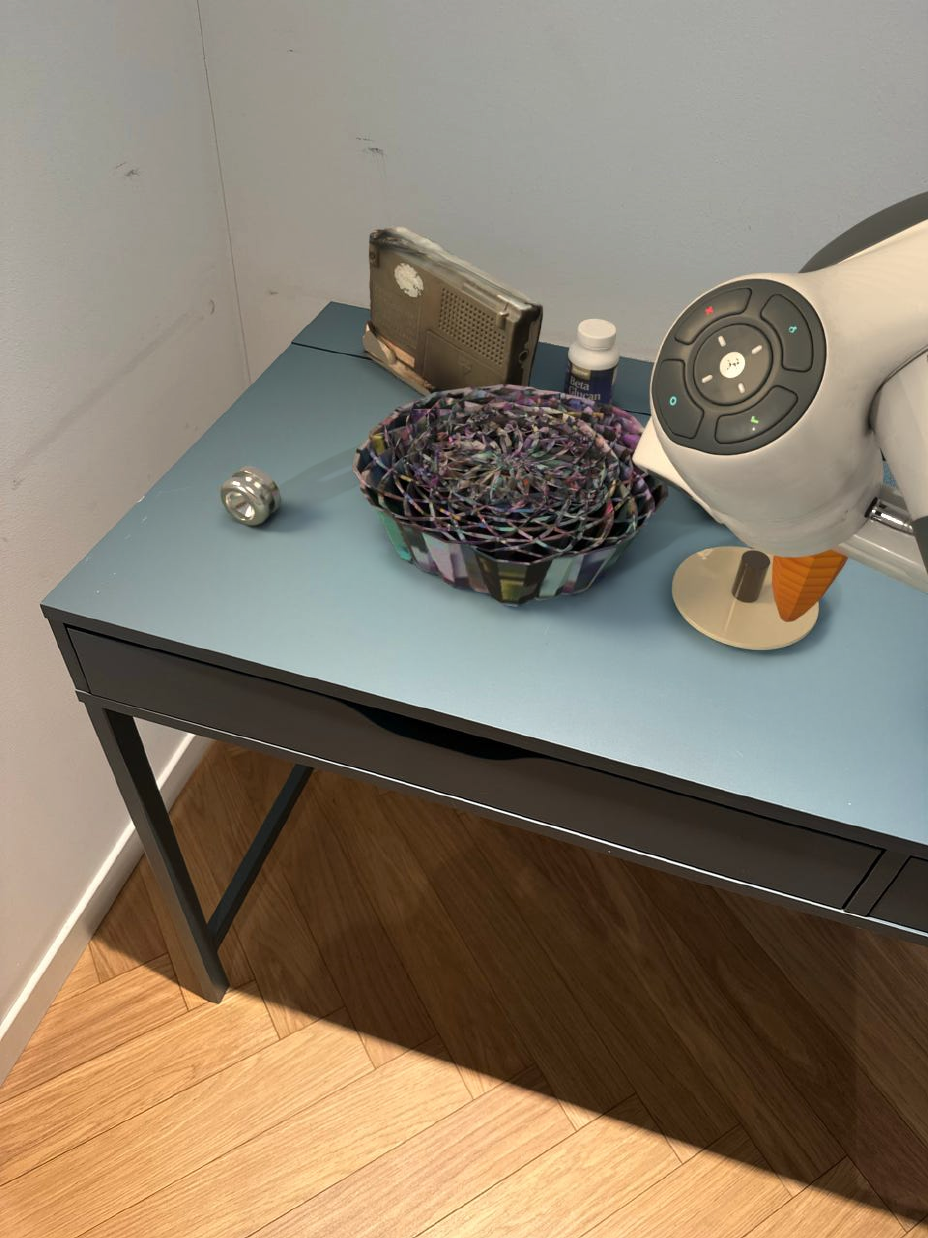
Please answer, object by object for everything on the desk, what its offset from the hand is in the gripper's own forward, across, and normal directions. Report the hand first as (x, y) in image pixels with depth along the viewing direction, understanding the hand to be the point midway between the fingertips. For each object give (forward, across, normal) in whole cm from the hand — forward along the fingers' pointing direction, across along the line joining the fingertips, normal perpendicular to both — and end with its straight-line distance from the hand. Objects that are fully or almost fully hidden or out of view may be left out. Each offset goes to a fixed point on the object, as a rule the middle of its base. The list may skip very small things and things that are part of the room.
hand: (822, 525), depth 63 cm
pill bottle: (+31, +35, -5) cm, 47 cm away
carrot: (+6, 0, +6) cm, 9 cm away
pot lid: (+19, +7, +6) cm, 21 cm away
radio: (+27, +49, -1) cm, 56 cm away
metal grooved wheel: (+5, +47, +21) cm, 52 cm away
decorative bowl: (+15, +28, +11) cm, 33 cm away
